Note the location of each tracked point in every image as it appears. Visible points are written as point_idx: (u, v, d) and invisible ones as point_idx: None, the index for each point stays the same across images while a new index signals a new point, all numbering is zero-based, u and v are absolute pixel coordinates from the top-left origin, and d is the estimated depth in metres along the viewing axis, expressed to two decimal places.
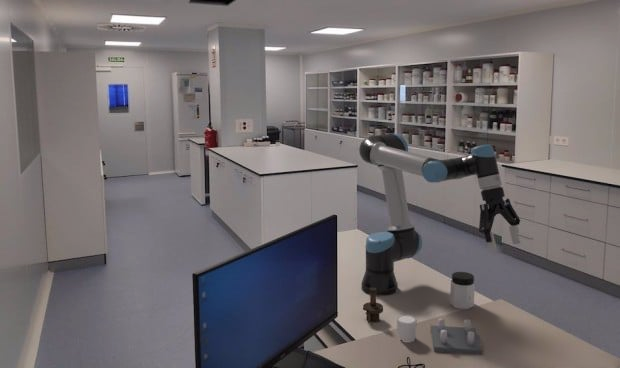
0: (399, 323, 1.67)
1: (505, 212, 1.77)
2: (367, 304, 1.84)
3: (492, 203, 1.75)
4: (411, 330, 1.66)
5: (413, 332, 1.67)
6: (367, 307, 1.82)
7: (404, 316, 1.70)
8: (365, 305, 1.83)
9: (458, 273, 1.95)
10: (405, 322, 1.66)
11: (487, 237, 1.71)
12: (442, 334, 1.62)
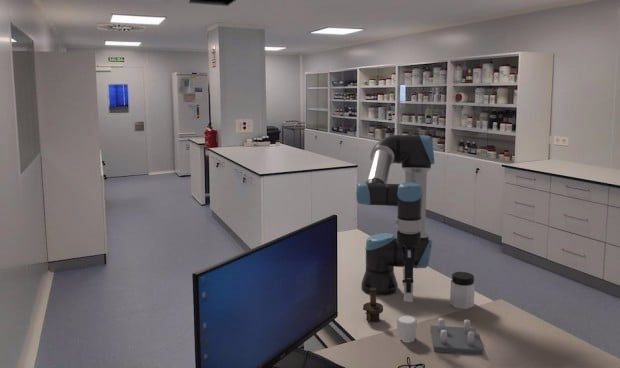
0: (399, 323, 1.67)
1: None
2: (367, 304, 1.84)
3: None
4: (411, 330, 1.66)
5: (413, 332, 1.67)
6: (367, 307, 1.82)
7: (404, 316, 1.70)
8: (365, 305, 1.83)
9: (458, 273, 1.95)
10: (405, 322, 1.66)
11: None
12: (442, 334, 1.62)
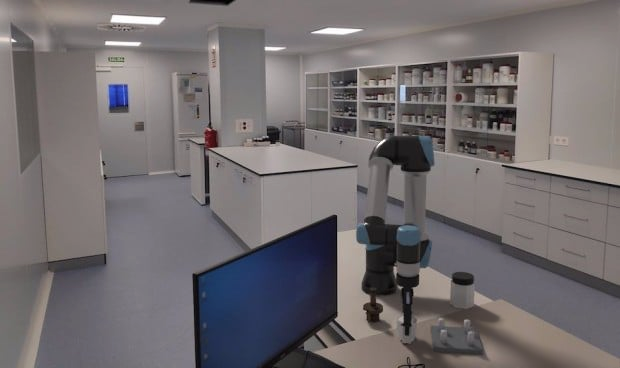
0: (399, 323, 1.66)
1: None
2: (367, 304, 1.84)
3: None
4: (411, 330, 1.66)
5: (413, 332, 1.66)
6: (367, 307, 1.82)
7: None
8: (365, 305, 1.83)
9: (458, 273, 1.95)
10: None
11: None
12: (442, 334, 1.62)
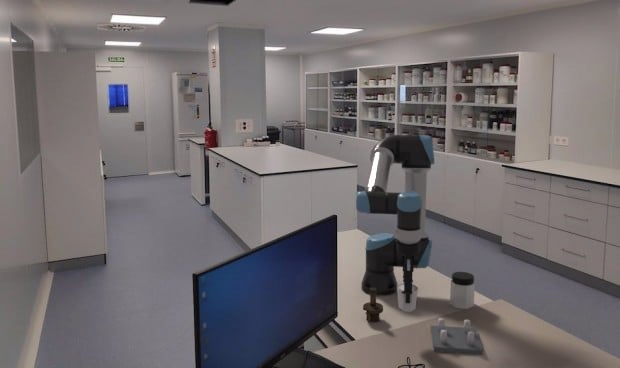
0: (400, 291, 1.65)
1: None
2: (367, 304, 1.84)
3: None
4: (412, 298, 1.64)
5: (414, 300, 1.65)
6: (367, 307, 1.82)
7: None
8: (365, 305, 1.83)
9: (458, 273, 1.95)
10: None
11: None
12: (442, 334, 1.62)
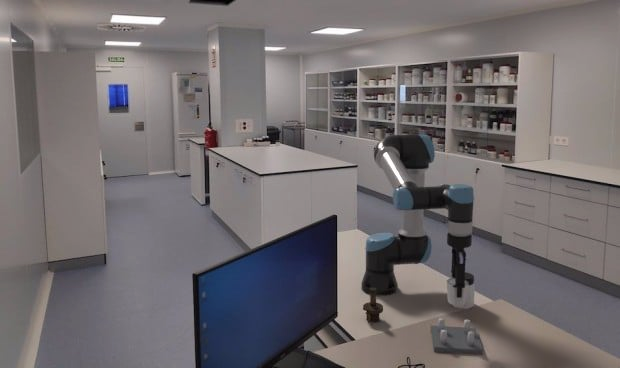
0: (450, 285, 1.61)
1: None
2: (367, 304, 1.84)
3: None
4: (463, 292, 1.61)
5: (465, 295, 1.61)
6: (367, 307, 1.82)
7: (454, 279, 1.65)
8: (365, 305, 1.83)
9: None
10: None
11: None
12: (442, 334, 1.62)
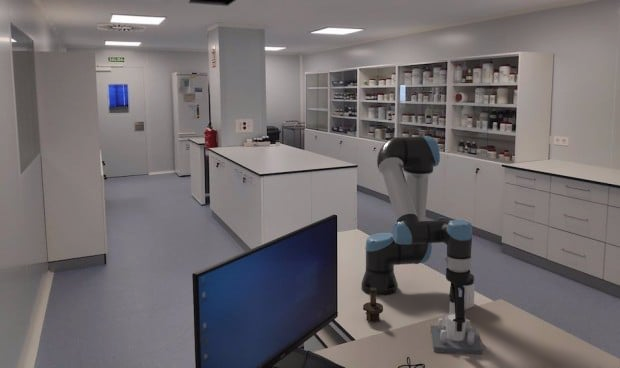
0: (449, 321, 1.64)
1: None
2: (367, 304, 1.84)
3: None
4: None
5: (463, 331, 1.64)
6: (367, 307, 1.82)
7: (453, 314, 1.68)
8: (365, 305, 1.83)
9: None
10: None
11: None
12: (442, 334, 1.62)
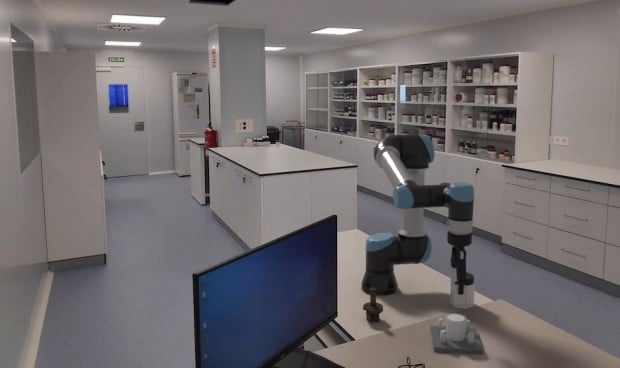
0: (449, 321, 1.64)
1: None
2: (367, 304, 1.84)
3: (454, 244, 1.64)
4: (461, 329, 1.63)
5: (463, 331, 1.64)
6: (367, 307, 1.82)
7: (453, 314, 1.68)
8: (365, 305, 1.83)
9: None
10: (455, 320, 1.63)
11: None
12: (442, 334, 1.62)
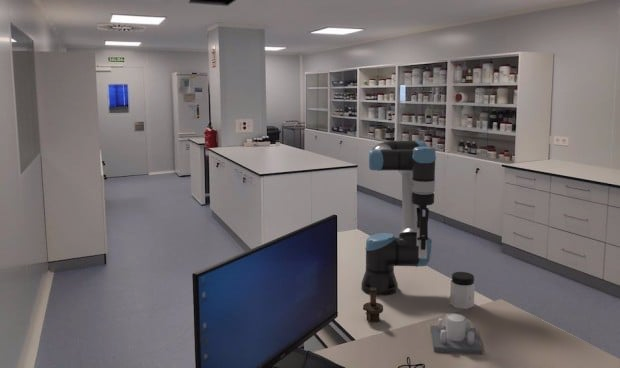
0: (449, 321, 1.64)
1: None
2: (367, 304, 1.84)
3: None
4: (461, 329, 1.63)
5: (463, 331, 1.64)
6: (367, 307, 1.82)
7: (453, 314, 1.68)
8: (365, 305, 1.83)
9: (458, 273, 1.95)
10: (455, 320, 1.63)
11: None
12: (442, 334, 1.62)
